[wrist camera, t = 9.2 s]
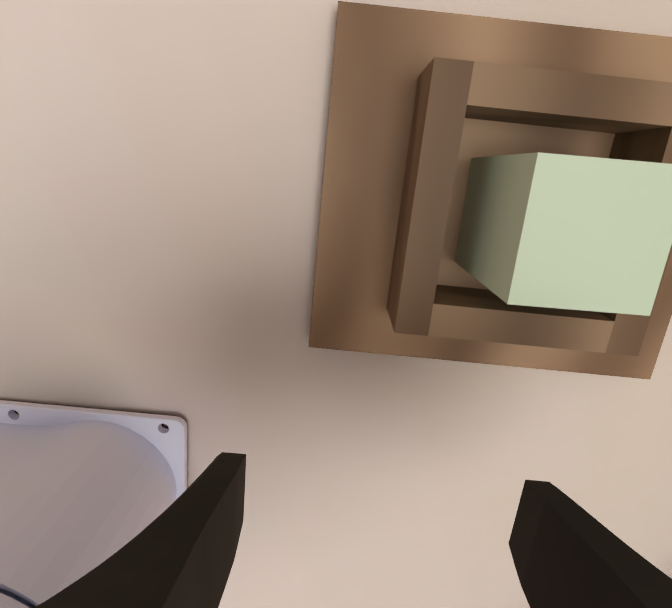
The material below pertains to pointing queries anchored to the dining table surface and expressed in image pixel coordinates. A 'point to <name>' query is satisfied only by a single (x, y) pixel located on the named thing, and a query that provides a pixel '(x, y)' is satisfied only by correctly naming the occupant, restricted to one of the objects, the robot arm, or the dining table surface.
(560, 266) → the block
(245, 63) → the dining table surface
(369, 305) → the well stand
